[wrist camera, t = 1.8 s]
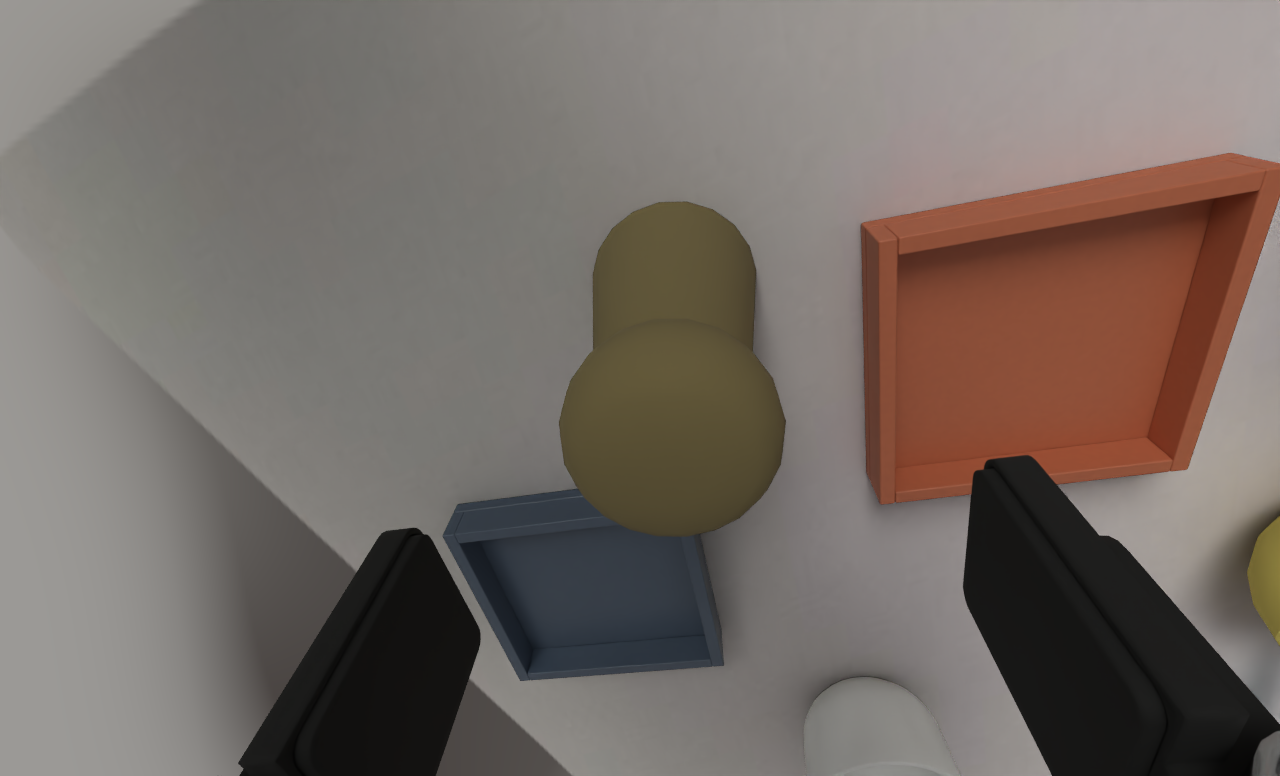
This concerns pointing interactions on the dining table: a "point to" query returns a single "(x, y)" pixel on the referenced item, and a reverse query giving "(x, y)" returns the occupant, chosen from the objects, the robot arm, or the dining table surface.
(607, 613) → the slate tray
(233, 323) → the dining table surface
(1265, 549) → the ladle
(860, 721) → the teacup
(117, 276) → the dining table surface
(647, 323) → the pepper shaker
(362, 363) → the dining table surface
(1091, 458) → the terracotta tray
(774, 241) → the dining table surface
